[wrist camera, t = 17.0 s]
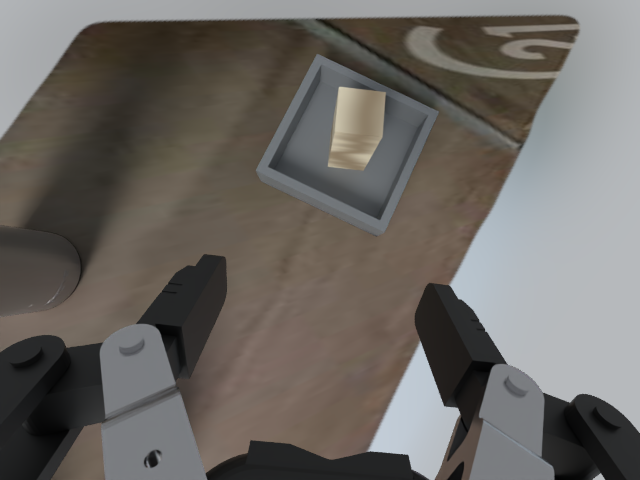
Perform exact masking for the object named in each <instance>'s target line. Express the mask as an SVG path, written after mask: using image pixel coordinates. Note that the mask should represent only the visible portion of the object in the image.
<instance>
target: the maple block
mask: <svg viewBox="0 0 640 480" xmlns="http://www.w3.org/2000/svg"><path fill="white" fill-rule="evenodd" d="M385 96H386V92H380V91H372V90H364V89H355V88H347V87H339V89H338V95H337V101H336V107H335V112H334V118H333V124H332V130H331V138H330V148H329V159H328V167H334V168H343V169H352V170H361V171H364V169H365V167H366V165H367V164H368V162H369V160H370V158H371V156H372V155H373V153H374V151H375V149H376V148H377V146H378V144H379V142H380V140H381V139H382V137H383V123H384V110H385Z"/></svg>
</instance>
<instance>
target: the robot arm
mask: <svg viewBox="0 0 640 480" xmlns="http://www.w3.org/2000/svg"><path fill="white" fill-rule="evenodd" d="M80 272H81V263H80V259H79V255H78V253H77V251H76V249H75V248H74V246H73V245H72V244H71V243H70V242H69V241H68V240H67V239H65V238H64V237H62V236H60V235H57V234H54V233H49V232H43V231H36V230H30V229H23V228H17V227H11V226H4V225H0V317H5V316H12V315H19V314H25V313H31V312H38V311H44V310H48V309H51V308H53V307H56V306H57V305H59V304H60V303H62V302H64V301H65V300H66V299H67V298H68V297H69V296H70V295H71V293H72V292H73V291H74V289H75V287H76V285H77V283H78V281H79V277H80ZM226 292H227V276H226V258H225V257H223V256H215V255H207V254H204V255H203V256H202V258H201V259H200V260H199V262H198V263H197V265H196V266H186V267H185V268H183V269H181V270H180V271H178V272H177V273H175V275H174V276H173V277H172V279H171V280H170V281H169V282H168V285H166V286H165V288H164V289H163V290H162V293H160V294H159V295H158V297H157V298H156V299H155V300H154V302H153V303H152V304H151V306H150V307H149V308H148V309H147V311H146V312H145V313H144V315H143V316H142V317H141V318H140V320H139V321H138V322H137V323H136V324H135V325H130V326H127V327H124V328H122V329H120V330H118V331H116V332H114V333H113V334H112V335H110V336H109V337H108V338H107V339H106V340H105V341H104V342H103V343H98V344H91V345H84V346H77V347H70V348H66V346H65V344H64V342H63V340H62V339H61V338H59V337H57V336H52V335H42V336H36V337H31V338H28V339H25V340H22V341H20V342H17V343H15V344H13V345H11V346H10V347H8V348H6V349H5V350H3V351H2V352H0V480H50V479H51V478H52V476H53V474H54V473H55V471H56V470H57V468H58V467H59V465H60V463H61V462H62V460H63V459H64V457H65V456H66V454H67V452H68V451H69V449H70V448H71V446H72V445H73V443H74V441H75V440H76V438H77V437H78V435H79V434H80V432H81V430H82V429H83V427H84V426H87V425H92V424H96V423H101V422H102V425H101V432H102V446H103V458H104V471H105V480H429V479H427V478H426V477H424V476H423V475H421V474H420V473H418V472H416V471H414V470H411V465H410V461H409V456H408V455H403V454H392V453H382V452H371V451H370V452H366V453H361V454H357V455H353V456H348V457H344V458H340V459H335V460H329V459H326V458H323V457H321V456H318V455H316V454H314V453H311V452H309V451H306V450H304V449H301V448H299V447H296V446H294V445H291V444H285V443H274V442H263V441H252V440H251V441H250V446H249V450H248V453H246V454H242V455H238V456H236V457H233V458H230V459H228V460H226V461H224V462H222V463H220V464H219V465H217V466H216V467H214V468H213V469H211V470H210V471H208V472H207V473H206V474H205V471H204V467H203V464H202V461H201V458H200V455H199V451H198V448H197V445H196V442H195V438H194V435H193V432H192V429H191V426H190V422H189V419H188V416H187V413H186V410H185V406H184V403H183V400H182V397H181V394H180V391H179V388H178V387H177V386H176V383H175V382H176V380H177V378H185V379H189V378H190V376H191V374H192V372H193V370H194V368H195V365H196V363H197V361H198V359H199V357H200V354H201V352H202V350H203V348H204V346H205V344H206V341H207V339H208V337H209V335H210V333H211V330H212V328H213V326H214V324H215V322H216V320H217V317H218V315H219V313H220V311H221V309H222V306H223V304H224V302H225V298H226ZM415 326H416V329H417V332H418V335H419V338H420V340H421V343H422V346H423V349H424V351H425V354H426V357H427V360H428V363H429V365H430V368H431V371H432V374H433V376H434V379H435V382H436V385H437V387H438V390H439V393H440V395H441V399H442V401H443V404H444V406H447V407H456V408H458V409H459V411H460V416H459V417H458V419H457V421H456V424H455V427H454V430H453V433H452V436H451V439H450V442H449V445H448V448H447V451H446V453H445V456H444V460H443V462H442V466H441V468H440V470H439V472H438V474H437V476H436V478H435V480H593V478H595V477H596V476H597V475H599V474H600V473H601V474H602V475H603V477H604V478H605V480H640V433H639V432H638V431H637V429H636V428H635V427H634V426H633V425H632V423H631V422H630V421H629V420H628V419H627V418H626V417H625V416H624V415H623V414H622V413H620V412H619V411H618V410H617V409H615V408H614V407H613V406H611V405H610V404H608V403H606V402H605V401H603V400H601V399H599V398H597V397H595V396H592V395H588V394H580V395H577V396H576V397H575V398H574V399H573V400H572V402H570V403H569V402H566V401H564V400H561V399H558V398H556V397H553V396H550V395H548V394H545V393H543V392H542V391H541V389H540V388H539V386H538V385H537V384H536V382H535V381H533V379H532V378H530V377H529V376H528V375H527V374H525V373H524V372H522V371H521V370H519V369H517V368H515V367H513V366H510V365H508V364H507V363H506V361H505V360H504V358H503V357H502V355H501V353H500V352H499V350H498V349H497V347H496V346H495V344H494V343H493V341H492V339H491V338H490V336H489V335H488V333H487V332H485V328H484V327H483V325H482V324H481V323H480V322H479V319H478V318H477V316H476V314H475V313H474V311H473V310H472V309H471V308H470V307H469V306H468V305H467V304H466V303H465V302H464V301H462V300H459V299H458V298H457V296H456V295H455V293H454V291H453V290H452V288H451V287H450V286H449V285H442V284H434V283H429V284H428V285H427V286H426V288H425V290H424V293H423V295H422V298H421V300H420V302H419V305H418V307H417V310H416V313H415Z"/></svg>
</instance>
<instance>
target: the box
mask: <svg viewBox="0 0 640 480" xmlns="http://www.w3.org/2000/svg"><path fill="white" fill-rule="evenodd" d="M339 87H347V88H355V89H364V90H372V91H380V92H386V96H385V110H384V123H383V137H382V139H381V140H380V142H379V144H378V146H377V148H376V149H375V151H374V153H373V155H372V156H371V158H370V160H369V162H368V164H367V165H366V167H365V169H364V171H361V170H352V169H343V168H334V167H328V159H329V148H330V138H331V130H332V124H333V118H334V112H335V107H336V101H337V95H338V89H339ZM438 113H439V111H436V110H434V109H432V108H430V107H428V106H426V105H424V104H422V103H420V102H418V101H415V100H413V99H411V98H409V97H407V96H405V95H403V94H401V93H399V92H396V91H394V90H392V89H390V88H388V87H386V86H384V85H382V84H380V83H378V82H375V81H373V80H371V79H369V78H367V77H365V76H363V75H361V74H359V73H357V72H354V71H352V70H350V69H348V68H346V67H344V66H342V65H340V64H338V63H335V62H333V61H331V60H329V59H327V58H325V57H323V56H321V55H319V54H317V55H316V57H315V59H314V61H313V63H312V65H311V67H310V69H309V70H308V72H307V74H306V76H305V78H304V80H303V82H302V84H301V86H300V88H299V89H298V91H297V93H296V95H295V97H294V99H293V101H292V103H291V105H290V106H289V108H288V110H287V112H286V114H285V116H284V118H283V120H282V122H281V124H280V125H279V127H278V129H277V131H276V133H275V135H274V137H273V139H272V141H271V143H270V144H269V146H268V148H267V150H266V152H265V154H264V156H263V158H262V160H261V162H260V163H259V165H258V167H257V169H256V172H257V174H258V176H259V178H260V180H261V181H262V182H264V183H266V184H268V185H270V186H272V187H274V188H276V189H278V190H280V191H283V192H285V193H287V194H289V195H291V196H293V197H295V198H297V199H299V200H301V201H303V202H306V203H308V204H310V205H312V206H314V207H316V208H318V209H320V210H322V211H324V212H326V213H328V214H331V215H333V216H335V217H337V218H339V219H341V220H343V221H345V222H347V223H349V224H351V225H354V226H356V227H358V228H360V229H362V230H364V231H366V232H368V233H370V234H372V235H374V236H378V235H380V234H382V233H384V232H385V230H386V228H387V226H388V224H389V222H390V219H391V217H392V215H393V213H394V210H395V208H396V206H397V204H398V202H399V199H400V197H401V195H402V193H403V191H404V188H405V186H406V184H407V182H408V179H409V177H410V175H411V173H412V171H413V168H414V166H415V164H416V162H417V160H418V157H419V155H420V153H421V151H422V148H423V146H424V144H425V142H426V140H427V137H428V135H429V133H430V131H431V129H432V126H433V124H434V122H435V120H436V118H437V115H438Z"/></svg>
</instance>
